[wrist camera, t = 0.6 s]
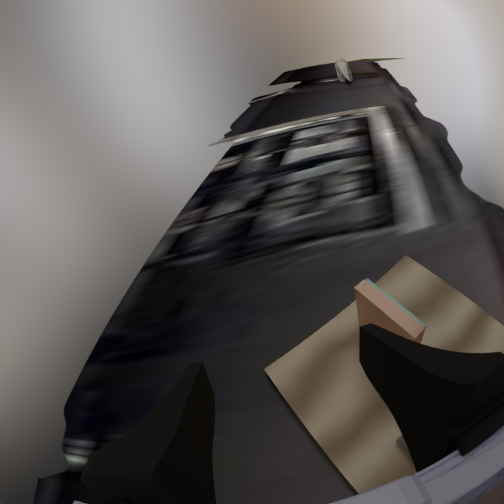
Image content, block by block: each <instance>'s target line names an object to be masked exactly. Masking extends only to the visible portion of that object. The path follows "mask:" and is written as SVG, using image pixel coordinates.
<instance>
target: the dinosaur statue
mask: <svg viewBox="0 0 504 504" xmlns="http://www.w3.org/2000/svg"><path fill="white" fill-rule="evenodd" d="M335 68H336V71H337V76H338V79H339V80H340V81H341V82H343V83H345V81H346V80H345V78H347V79H348V81H349V82H351V81H352V80H353V79H352V75H351V72H350V69H349V65H348V63H347V62H346V61H345V60H344V59H342V58H341V59H336V61H335Z"/></svg>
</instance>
